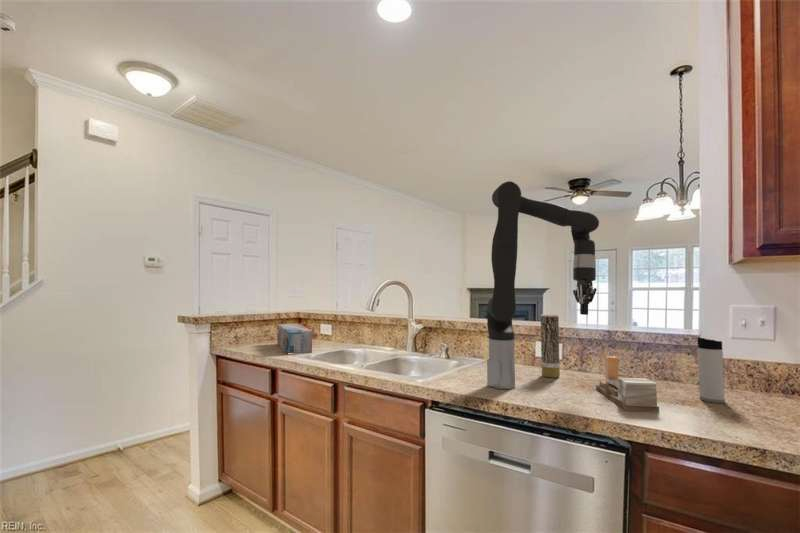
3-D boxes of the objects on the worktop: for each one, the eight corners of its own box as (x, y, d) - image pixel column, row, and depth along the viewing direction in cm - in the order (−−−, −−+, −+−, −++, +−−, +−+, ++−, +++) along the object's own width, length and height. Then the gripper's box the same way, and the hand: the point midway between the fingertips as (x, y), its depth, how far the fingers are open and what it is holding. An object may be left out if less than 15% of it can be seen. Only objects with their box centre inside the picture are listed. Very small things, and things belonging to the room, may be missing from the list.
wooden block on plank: (659, 412, 110) (658, 383, 111) (626, 410, 111) (625, 382, 112) (622, 389, 134) (622, 366, 134) (596, 388, 135) (595, 365, 136)
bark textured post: (556, 374, 157) (555, 314, 158) (562, 378, 150) (560, 315, 151) (539, 374, 157) (538, 314, 159) (544, 378, 151) (543, 315, 152)
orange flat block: (632, 395, 120) (631, 363, 121) (621, 394, 121) (620, 363, 122) (615, 384, 133) (614, 356, 134) (605, 384, 134) (604, 356, 134)
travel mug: (693, 397, 124) (691, 336, 125) (712, 397, 125) (709, 336, 126) (710, 403, 118) (708, 339, 119) (730, 403, 118) (727, 339, 119)
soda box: (276, 344, 239) (276, 324, 239) (298, 343, 245) (298, 323, 245) (287, 355, 202) (287, 331, 203) (313, 353, 208) (313, 329, 209)
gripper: (604, 266, 133) (604, 315, 131) (585, 270, 147) (585, 315, 144) (583, 264, 133) (583, 313, 131) (566, 269, 146) (565, 314, 144)
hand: (584, 314), depth 138 cm, fingers closed
